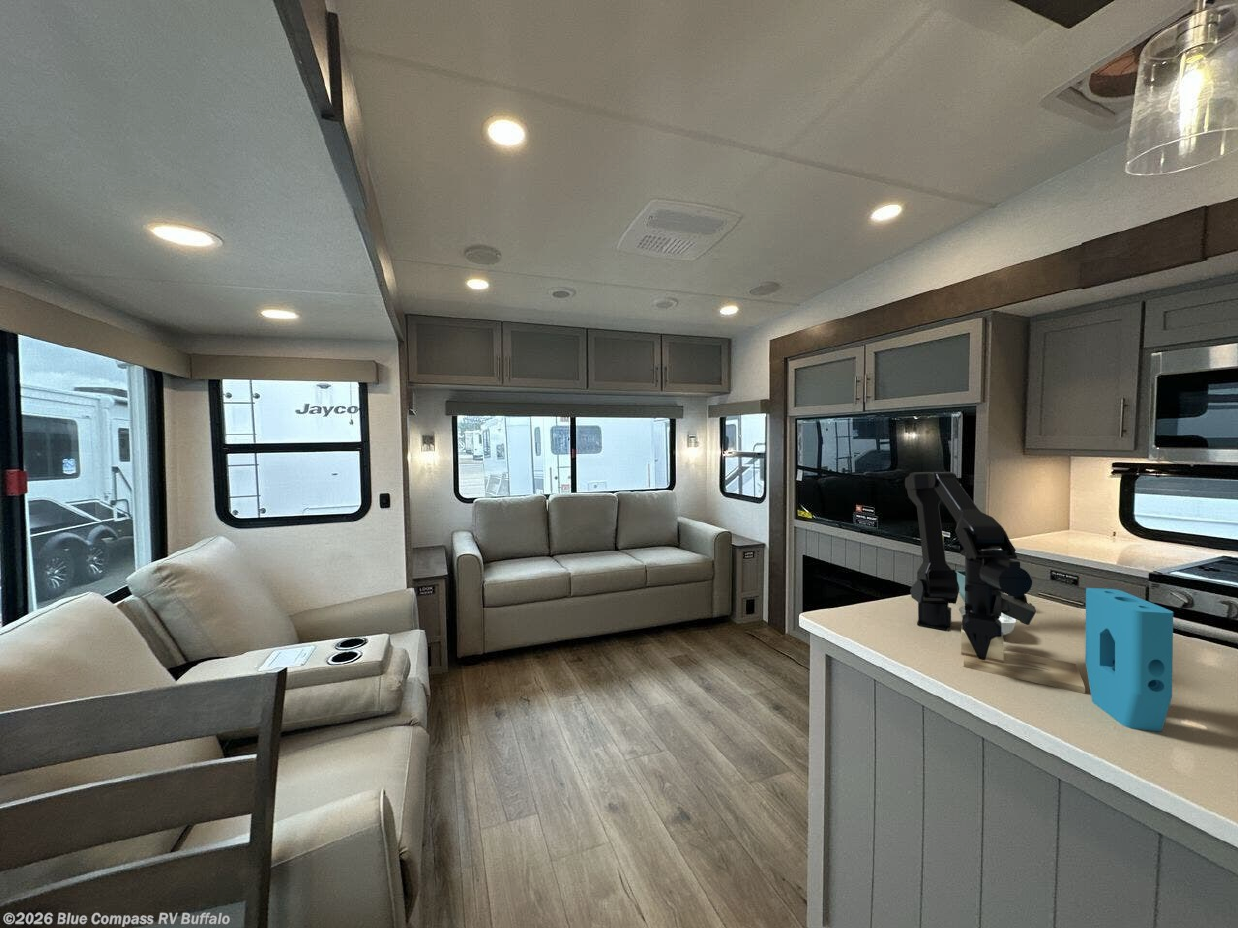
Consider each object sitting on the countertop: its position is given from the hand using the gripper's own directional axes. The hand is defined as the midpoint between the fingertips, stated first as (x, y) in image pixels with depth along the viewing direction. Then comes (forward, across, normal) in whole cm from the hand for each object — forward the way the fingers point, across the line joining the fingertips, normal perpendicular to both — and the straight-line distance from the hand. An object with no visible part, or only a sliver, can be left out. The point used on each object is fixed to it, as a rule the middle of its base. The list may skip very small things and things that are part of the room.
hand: (982, 652), depth 98 cm
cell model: (+2, +18, -1) cm, 18 cm away
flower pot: (+2, +39, +1) cm, 39 cm away
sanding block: (0, 0, 0) cm, 0 cm away
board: (+2, 0, -6) cm, 6 cm away
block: (+2, -11, -19) cm, 22 cm away
